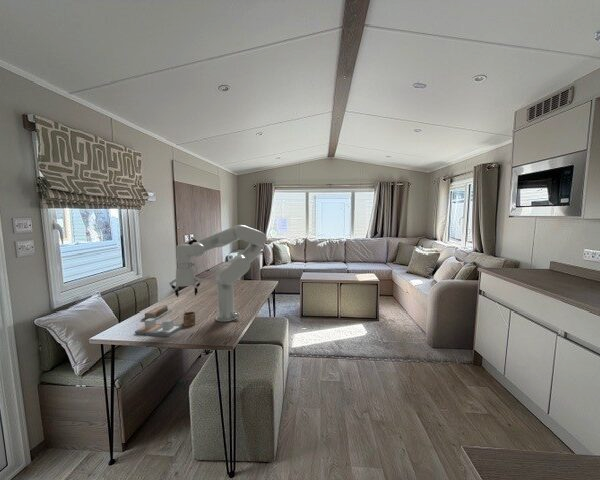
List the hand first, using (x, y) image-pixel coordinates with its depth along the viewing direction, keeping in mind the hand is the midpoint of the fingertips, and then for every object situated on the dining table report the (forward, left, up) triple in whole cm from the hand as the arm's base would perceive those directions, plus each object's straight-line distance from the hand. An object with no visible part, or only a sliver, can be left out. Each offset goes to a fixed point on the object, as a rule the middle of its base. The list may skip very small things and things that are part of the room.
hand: (186, 295), depth 168 cm
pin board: (+9, +12, -17) cm, 23 cm away
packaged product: (+29, -11, -17) cm, 35 cm away
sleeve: (-1, -1, -17) cm, 17 cm away
